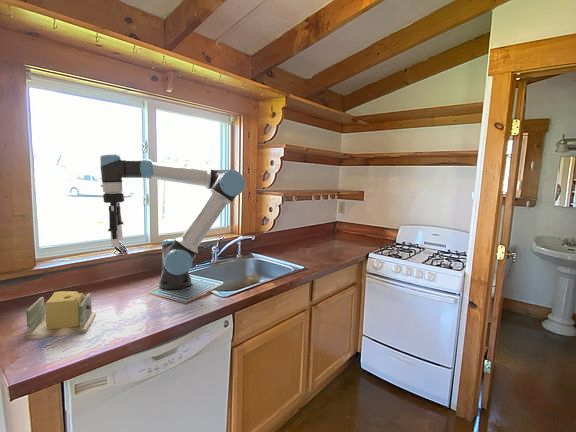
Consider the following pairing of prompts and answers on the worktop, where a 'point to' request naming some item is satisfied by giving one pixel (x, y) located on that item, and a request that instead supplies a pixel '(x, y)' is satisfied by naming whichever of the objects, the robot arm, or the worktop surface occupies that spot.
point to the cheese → (63, 309)
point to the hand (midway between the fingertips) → (117, 243)
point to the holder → (39, 328)
